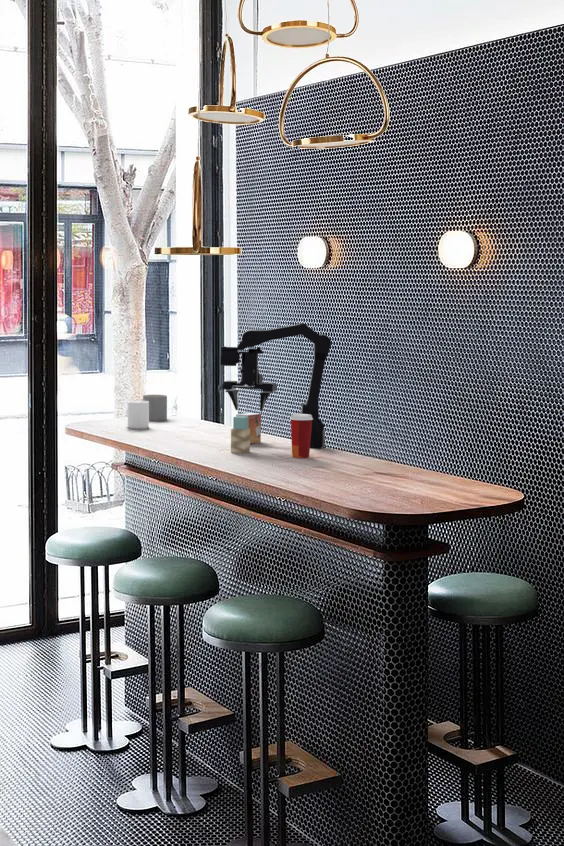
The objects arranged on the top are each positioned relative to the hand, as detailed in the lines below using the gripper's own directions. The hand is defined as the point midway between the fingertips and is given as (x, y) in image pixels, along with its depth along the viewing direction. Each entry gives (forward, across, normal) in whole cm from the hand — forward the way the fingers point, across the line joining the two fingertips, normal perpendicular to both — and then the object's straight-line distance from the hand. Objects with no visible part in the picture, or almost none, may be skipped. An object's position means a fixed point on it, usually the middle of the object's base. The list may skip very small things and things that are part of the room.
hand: (249, 410), depth 377 cm
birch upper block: (+9, -2, +14) cm, 17 cm away
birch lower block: (+13, -2, +14) cm, 19 cm away
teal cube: (+5, -2, +14) cm, 15 cm away
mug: (+13, +58, -30) cm, 67 cm away
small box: (+13, +3, -8) cm, 15 cm away
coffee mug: (+13, +63, -57) cm, 86 cm away
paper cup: (+13, -24, +16) cm, 31 cm away
